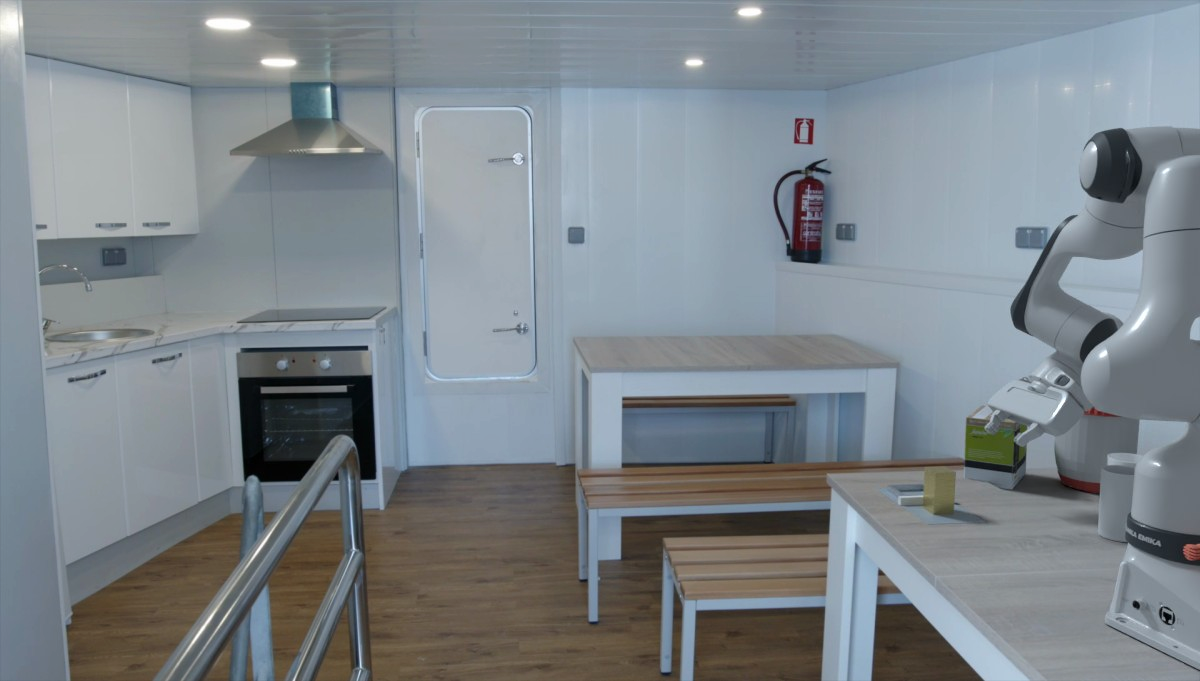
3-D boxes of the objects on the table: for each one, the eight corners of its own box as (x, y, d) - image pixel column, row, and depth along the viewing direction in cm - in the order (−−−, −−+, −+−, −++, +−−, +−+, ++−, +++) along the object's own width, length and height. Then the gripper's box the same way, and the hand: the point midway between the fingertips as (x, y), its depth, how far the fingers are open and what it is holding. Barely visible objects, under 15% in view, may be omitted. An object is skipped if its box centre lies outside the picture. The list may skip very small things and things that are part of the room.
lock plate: (986, 527, 157) (986, 513, 157) (928, 529, 156) (929, 516, 156) (925, 491, 179) (926, 479, 179) (875, 493, 178) (875, 481, 177)
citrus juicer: (1087, 471, 194) (1094, 383, 191) (1154, 494, 177) (1162, 398, 174) (1027, 476, 190) (1033, 386, 187) (1090, 500, 173) (1097, 401, 171)
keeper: (941, 500, 169) (942, 494, 169) (904, 502, 168) (904, 496, 168) (922, 489, 177) (922, 483, 177) (886, 490, 176) (886, 485, 176)
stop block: (953, 513, 162) (955, 472, 161) (933, 514, 161) (935, 472, 160) (942, 507, 166) (944, 466, 165) (922, 508, 165) (924, 467, 164)
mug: (1141, 545, 148) (1146, 477, 147) (1096, 538, 151) (1101, 472, 150) (1139, 528, 157) (1145, 463, 155) (1096, 522, 160) (1101, 459, 159)
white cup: (1094, 502, 172) (1098, 453, 171) (1131, 501, 173) (1135, 452, 171) (1122, 515, 164) (1126, 463, 163) (1161, 513, 165) (1165, 462, 164)
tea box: (978, 467, 197) (981, 403, 195) (1026, 475, 191) (1030, 409, 190) (961, 483, 185) (965, 415, 183) (1012, 491, 179) (1017, 421, 177)
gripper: (1011, 365, 173) (962, 414, 173) (1079, 383, 153) (1024, 439, 153) (1030, 386, 174) (982, 436, 174) (1101, 407, 154) (1046, 462, 154)
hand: (1002, 437), depth 163 cm, fingers open, 8 cm apart
